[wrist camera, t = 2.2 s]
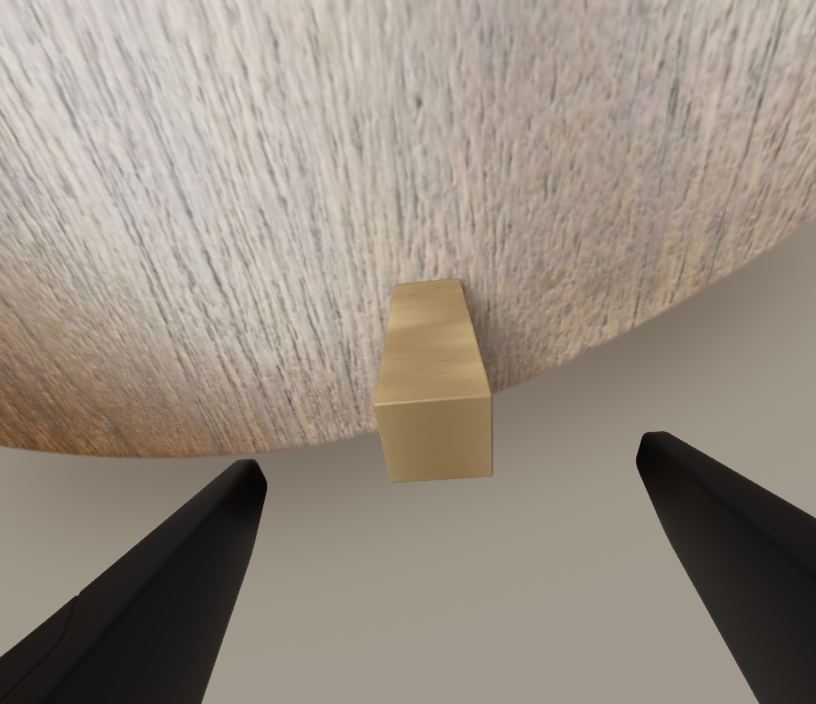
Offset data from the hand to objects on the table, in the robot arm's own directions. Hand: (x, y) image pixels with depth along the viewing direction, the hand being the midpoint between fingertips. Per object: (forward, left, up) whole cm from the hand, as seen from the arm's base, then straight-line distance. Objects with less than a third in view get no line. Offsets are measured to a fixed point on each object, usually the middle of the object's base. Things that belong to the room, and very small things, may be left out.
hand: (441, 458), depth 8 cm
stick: (0, 0, -9) cm, 9 cm away
